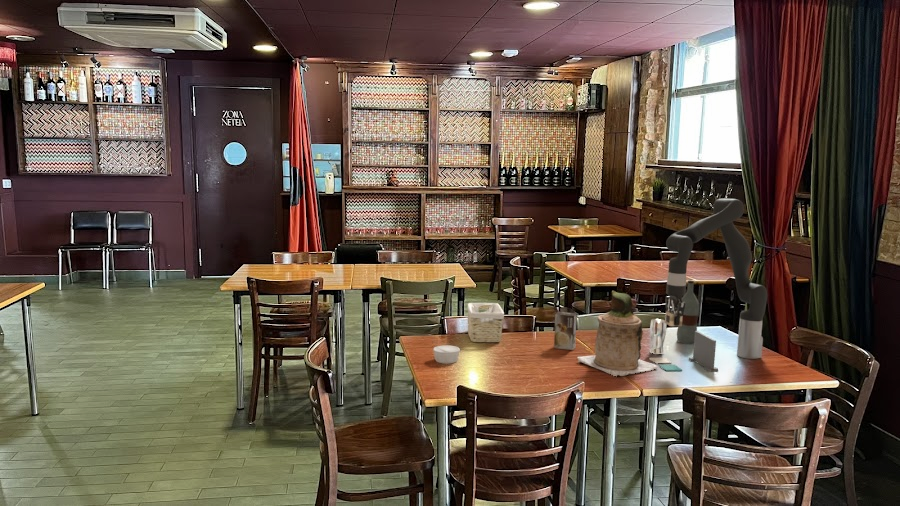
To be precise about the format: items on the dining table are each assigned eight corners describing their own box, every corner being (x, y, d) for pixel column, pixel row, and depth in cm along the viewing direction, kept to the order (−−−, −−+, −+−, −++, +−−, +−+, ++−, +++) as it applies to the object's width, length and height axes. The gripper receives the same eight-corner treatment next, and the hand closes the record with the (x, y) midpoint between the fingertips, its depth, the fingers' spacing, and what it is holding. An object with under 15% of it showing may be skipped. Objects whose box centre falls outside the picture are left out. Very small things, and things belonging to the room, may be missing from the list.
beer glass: (665, 355, 301) (667, 322, 299) (649, 354, 302) (651, 321, 300) (663, 351, 308) (665, 319, 306) (647, 350, 309) (650, 318, 307)
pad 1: (664, 359, 296) (664, 357, 296) (671, 363, 289) (671, 362, 289) (649, 359, 295) (649, 357, 295) (655, 364, 288) (656, 362, 288)
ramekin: (429, 362, 283) (429, 350, 282) (438, 355, 293) (439, 343, 292) (454, 366, 279) (454, 353, 278) (463, 358, 289) (463, 346, 288)
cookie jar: (617, 378, 267) (622, 299, 263) (574, 362, 288) (578, 289, 284) (659, 369, 281) (664, 294, 276) (616, 354, 301) (620, 284, 297)
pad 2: (674, 365, 286) (674, 364, 286) (682, 371, 279) (682, 369, 279) (658, 366, 285) (658, 364, 285) (665, 371, 278) (666, 369, 278)
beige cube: (676, 323, 282) (677, 311, 282) (681, 326, 277) (682, 313, 277) (664, 323, 282) (665, 311, 281) (669, 326, 277) (670, 313, 276)
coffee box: (575, 347, 312) (577, 313, 309) (573, 350, 306) (574, 316, 303) (556, 344, 315) (558, 311, 313) (553, 348, 309) (554, 313, 307)
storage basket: (466, 330, 337) (466, 301, 335) (498, 331, 338) (499, 302, 336) (469, 343, 314) (470, 312, 312) (503, 343, 314) (504, 313, 312)
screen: (699, 359, 296) (701, 330, 294) (717, 370, 280) (720, 340, 279) (688, 359, 296) (690, 330, 294) (706, 371, 280) (709, 340, 278)
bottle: (698, 341, 327) (703, 280, 323) (694, 345, 319) (698, 283, 315) (678, 338, 332) (683, 278, 328) (674, 342, 324) (678, 281, 320)
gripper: (693, 286, 271) (690, 327, 273) (677, 280, 285) (674, 319, 287) (675, 286, 270) (672, 328, 272) (660, 280, 284) (657, 319, 286)
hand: (673, 323), depth 279 cm, fingers closed on beige cube, 5 cm apart
